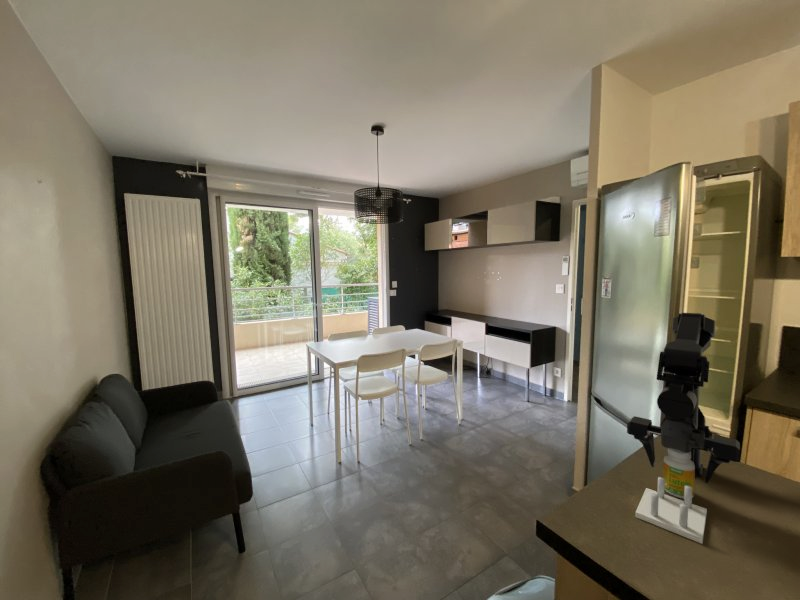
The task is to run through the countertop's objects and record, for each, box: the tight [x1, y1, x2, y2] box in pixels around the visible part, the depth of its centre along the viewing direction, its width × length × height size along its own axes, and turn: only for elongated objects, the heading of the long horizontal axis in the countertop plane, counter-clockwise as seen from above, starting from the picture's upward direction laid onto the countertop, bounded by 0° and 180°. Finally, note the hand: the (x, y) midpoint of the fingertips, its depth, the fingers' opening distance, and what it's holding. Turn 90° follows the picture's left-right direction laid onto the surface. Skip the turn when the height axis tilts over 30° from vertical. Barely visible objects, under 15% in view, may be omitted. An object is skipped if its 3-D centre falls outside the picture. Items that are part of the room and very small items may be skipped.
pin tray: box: [634, 476, 708, 545], centre depth 68 cm, size 11×10×5 cm
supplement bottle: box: [662, 448, 696, 500], centre depth 75 cm, size 5×5×10 cm
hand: (678, 474), depth 75 cm, fingers open, 9 cm apart
